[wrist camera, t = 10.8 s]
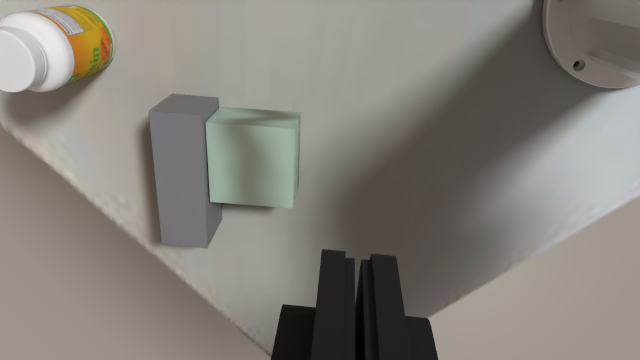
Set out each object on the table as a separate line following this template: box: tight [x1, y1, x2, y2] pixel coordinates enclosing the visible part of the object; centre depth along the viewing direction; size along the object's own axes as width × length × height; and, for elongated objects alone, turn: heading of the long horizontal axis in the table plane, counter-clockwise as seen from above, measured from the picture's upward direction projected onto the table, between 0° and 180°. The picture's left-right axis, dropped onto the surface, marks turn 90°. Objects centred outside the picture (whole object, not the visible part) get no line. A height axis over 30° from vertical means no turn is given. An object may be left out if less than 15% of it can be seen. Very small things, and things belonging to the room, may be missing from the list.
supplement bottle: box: [0, 5, 115, 93], centre depth 33 cm, size 5×5×10 cm
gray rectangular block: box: [149, 94, 222, 248], centre depth 39 cm, size 4×12×5 cm, turn 176°
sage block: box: [206, 107, 301, 208], centre depth 39 cm, size 7×7×4 cm
